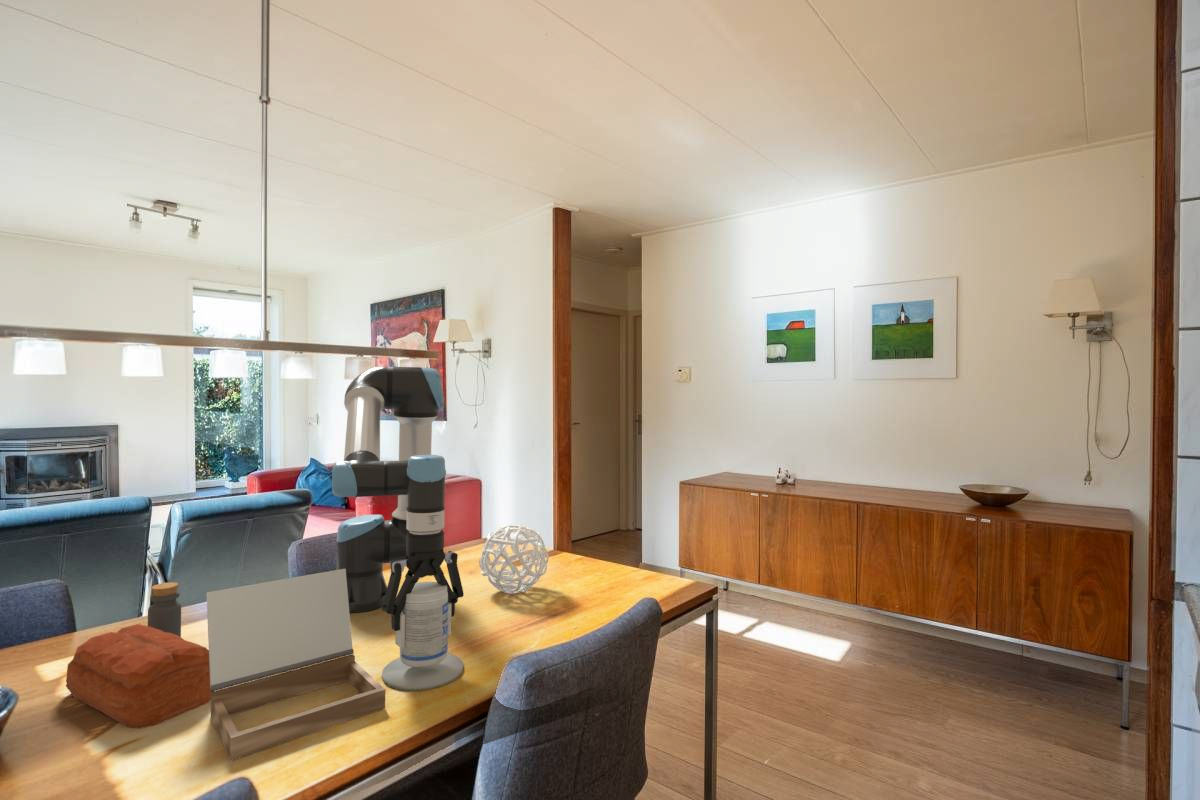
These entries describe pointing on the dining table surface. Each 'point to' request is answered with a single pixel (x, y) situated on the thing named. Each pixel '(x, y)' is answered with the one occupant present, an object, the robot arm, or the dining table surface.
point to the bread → (140, 675)
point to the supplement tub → (425, 625)
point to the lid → (277, 627)
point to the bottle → (165, 608)
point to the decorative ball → (513, 558)
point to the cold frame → (287, 687)
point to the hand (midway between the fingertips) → (423, 638)
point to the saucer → (422, 674)
